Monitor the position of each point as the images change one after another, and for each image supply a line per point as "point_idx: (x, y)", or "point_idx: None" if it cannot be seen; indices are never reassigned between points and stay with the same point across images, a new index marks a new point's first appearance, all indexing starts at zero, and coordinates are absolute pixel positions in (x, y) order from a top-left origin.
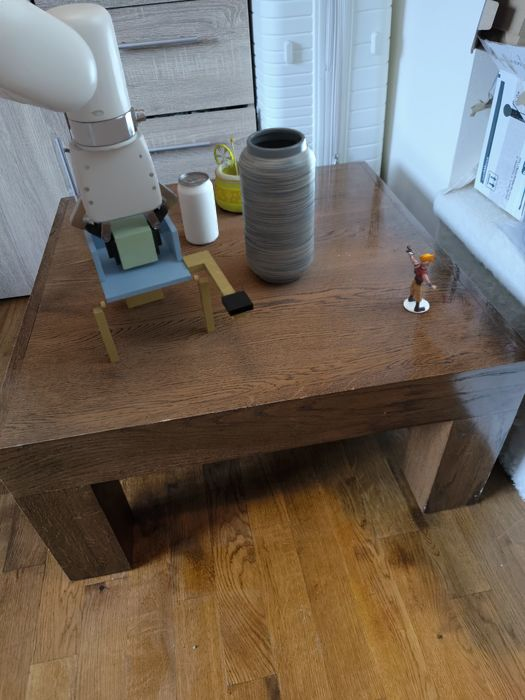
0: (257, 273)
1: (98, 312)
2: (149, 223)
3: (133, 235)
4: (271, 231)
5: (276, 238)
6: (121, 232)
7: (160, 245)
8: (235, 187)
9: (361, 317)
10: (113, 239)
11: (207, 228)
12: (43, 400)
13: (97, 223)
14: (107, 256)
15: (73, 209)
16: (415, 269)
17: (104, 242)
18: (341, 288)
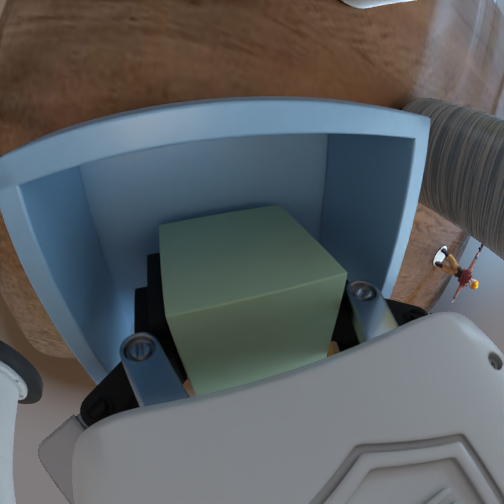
0: None
1: None
2: (335, 336)
3: None
4: (461, 227)
5: (454, 223)
6: (226, 384)
7: None
8: None
9: (410, 260)
10: (183, 367)
11: (378, 3)
12: (48, 318)
13: (133, 401)
14: (120, 203)
15: (67, 498)
16: (464, 278)
17: (134, 319)
18: (427, 212)
